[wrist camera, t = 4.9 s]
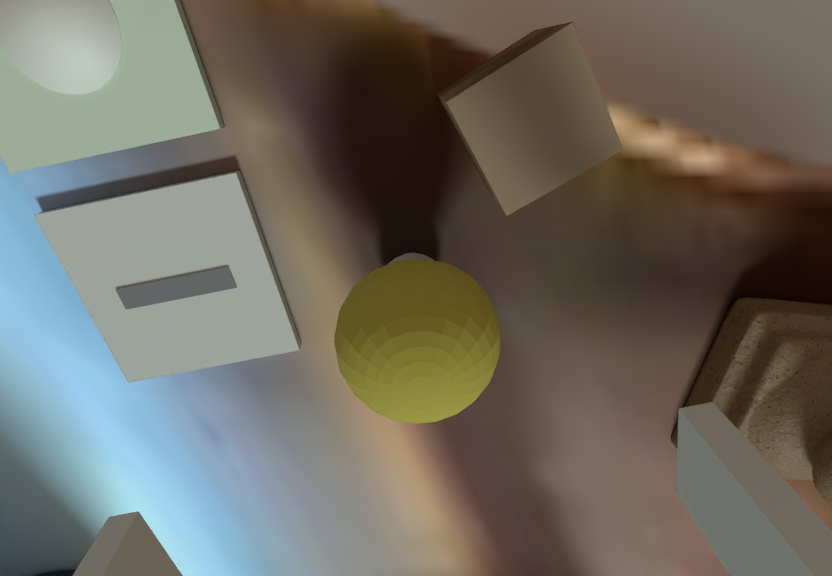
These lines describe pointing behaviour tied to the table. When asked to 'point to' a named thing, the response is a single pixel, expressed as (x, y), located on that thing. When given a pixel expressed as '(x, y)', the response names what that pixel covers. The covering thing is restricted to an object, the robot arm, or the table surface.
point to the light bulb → (417, 339)
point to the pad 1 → (97, 79)
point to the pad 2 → (175, 276)
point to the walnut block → (532, 116)
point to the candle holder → (775, 383)
